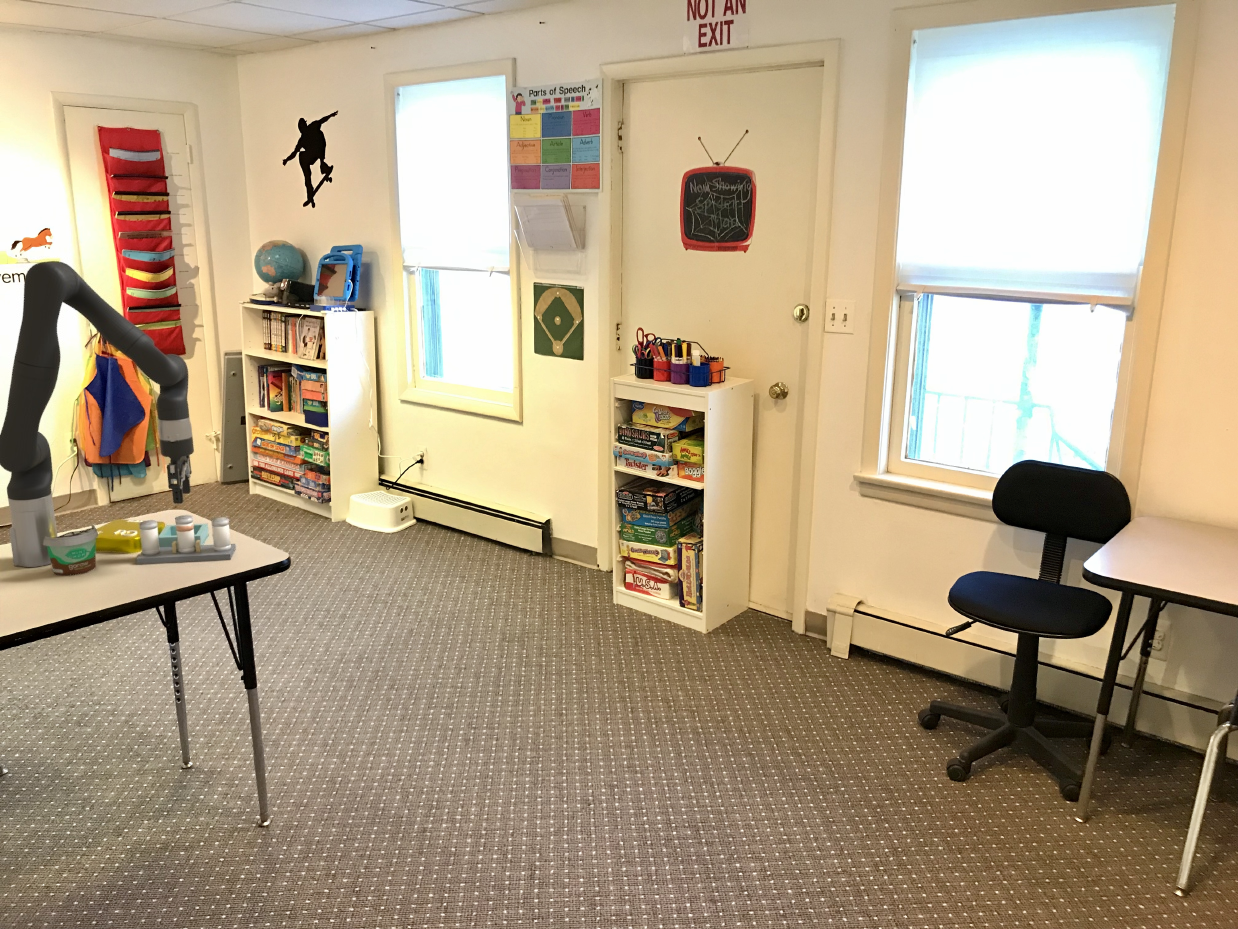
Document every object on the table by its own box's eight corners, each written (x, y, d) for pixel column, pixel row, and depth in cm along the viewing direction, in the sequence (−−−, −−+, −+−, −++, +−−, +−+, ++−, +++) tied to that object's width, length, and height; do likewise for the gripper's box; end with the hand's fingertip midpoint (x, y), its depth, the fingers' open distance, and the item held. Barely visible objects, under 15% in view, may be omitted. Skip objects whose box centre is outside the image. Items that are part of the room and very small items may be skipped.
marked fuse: (176, 554, 238) (173, 520, 235) (180, 548, 242) (177, 515, 239) (194, 553, 239) (190, 519, 236) (197, 547, 242) (194, 514, 240)
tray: (158, 550, 244) (157, 537, 243) (167, 537, 254) (166, 525, 253) (201, 548, 246) (200, 535, 245) (208, 535, 256) (207, 523, 255)
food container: (60, 581, 222) (55, 542, 220) (47, 576, 225) (42, 536, 223) (112, 566, 232) (107, 528, 230) (98, 561, 235) (94, 523, 233)
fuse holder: (137, 564, 234) (133, 528, 232) (145, 553, 242) (141, 518, 239) (230, 559, 239) (227, 524, 237) (235, 549, 247) (233, 514, 244)
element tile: (169, 536, 256) (168, 519, 255) (136, 555, 242) (134, 537, 240) (118, 533, 258) (116, 516, 256) (82, 551, 243) (80, 534, 242)
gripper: (166, 430, 238) (172, 491, 242) (152, 442, 225) (159, 507, 229) (197, 429, 240) (203, 489, 244) (185, 441, 226) (192, 505, 231)
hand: (182, 498), depth 236 cm, fingers open, 8 cm apart
